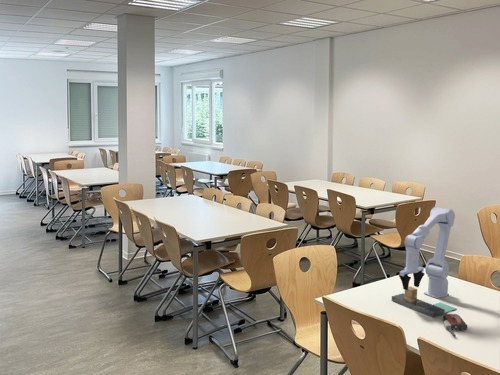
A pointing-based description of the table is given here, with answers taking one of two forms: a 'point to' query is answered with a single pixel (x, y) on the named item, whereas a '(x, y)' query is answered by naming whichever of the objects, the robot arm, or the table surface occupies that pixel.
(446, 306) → the teal mat
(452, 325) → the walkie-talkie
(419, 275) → the robot arm
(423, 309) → the rack frame
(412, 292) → the oak peg
